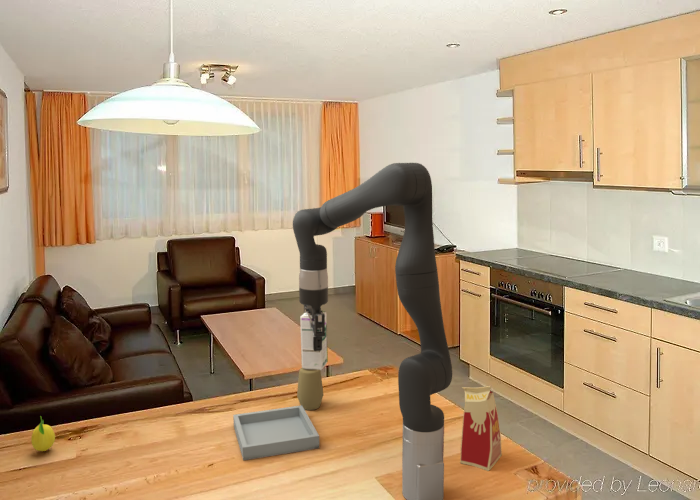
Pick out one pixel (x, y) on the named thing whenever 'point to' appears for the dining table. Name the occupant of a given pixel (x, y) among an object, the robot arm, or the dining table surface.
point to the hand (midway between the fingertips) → (314, 345)
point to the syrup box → (308, 354)
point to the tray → (274, 432)
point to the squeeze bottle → (310, 388)
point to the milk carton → (480, 429)
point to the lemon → (42, 437)
